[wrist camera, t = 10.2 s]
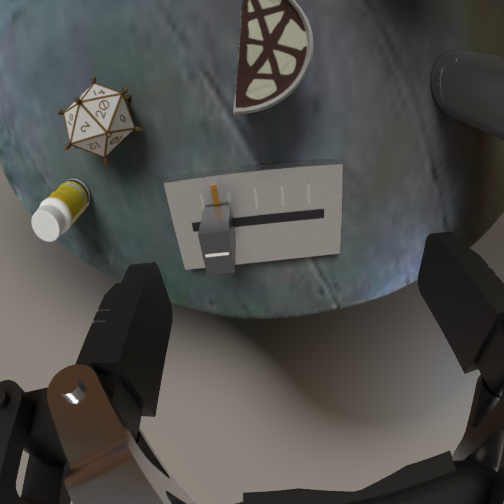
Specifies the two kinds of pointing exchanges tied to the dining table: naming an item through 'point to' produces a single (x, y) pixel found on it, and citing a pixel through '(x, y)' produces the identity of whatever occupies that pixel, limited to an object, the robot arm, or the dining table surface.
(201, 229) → the fader knob
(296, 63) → the food container
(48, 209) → the supplement bottle
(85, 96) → the game die
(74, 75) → the dining table surface
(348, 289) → the dining table surface
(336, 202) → the console board
